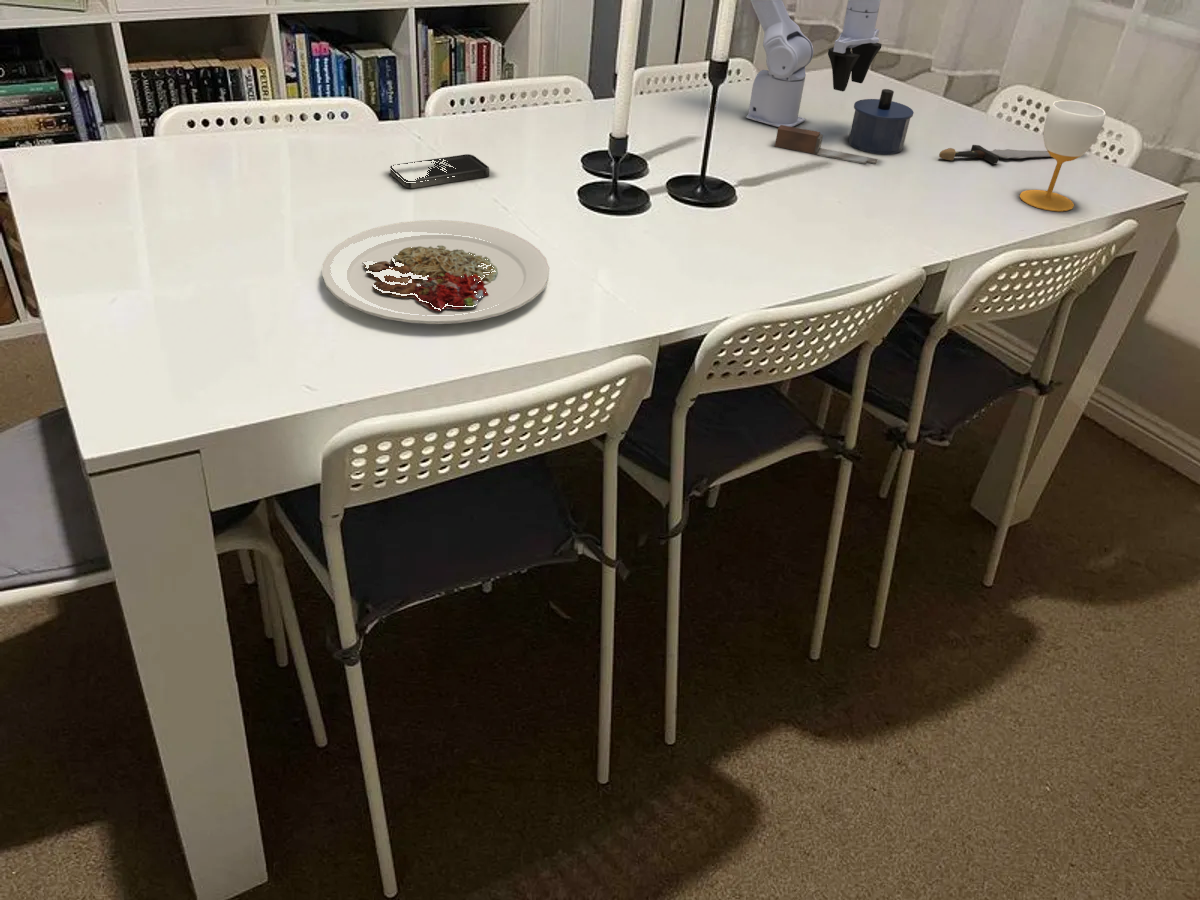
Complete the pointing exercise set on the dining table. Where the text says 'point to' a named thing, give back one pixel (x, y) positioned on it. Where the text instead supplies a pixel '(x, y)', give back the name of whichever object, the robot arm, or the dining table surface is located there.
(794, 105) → the robot arm
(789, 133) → the knife
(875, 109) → the pot lid
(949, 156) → the dagger
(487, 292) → the plated food
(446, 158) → the phone
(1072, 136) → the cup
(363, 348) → the dining table surface
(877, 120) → the pot
